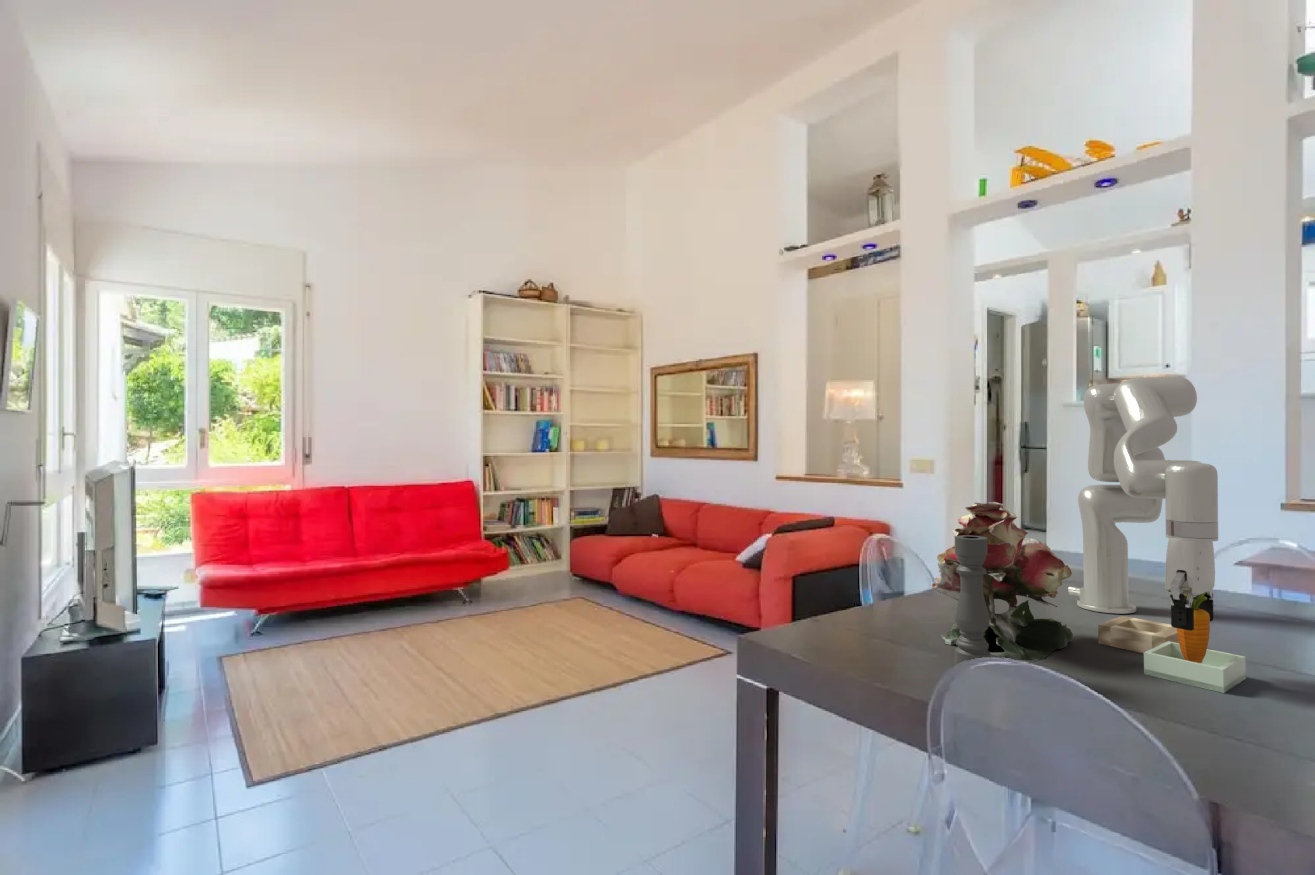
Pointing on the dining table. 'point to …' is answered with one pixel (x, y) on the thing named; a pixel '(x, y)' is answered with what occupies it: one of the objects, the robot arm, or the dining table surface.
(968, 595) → the candle holder
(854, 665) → the dining table surface
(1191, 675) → the tray
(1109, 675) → the dining table surface
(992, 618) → the rose bouquet
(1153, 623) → the wooden stand
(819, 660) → the dining table surface
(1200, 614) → the carrot
